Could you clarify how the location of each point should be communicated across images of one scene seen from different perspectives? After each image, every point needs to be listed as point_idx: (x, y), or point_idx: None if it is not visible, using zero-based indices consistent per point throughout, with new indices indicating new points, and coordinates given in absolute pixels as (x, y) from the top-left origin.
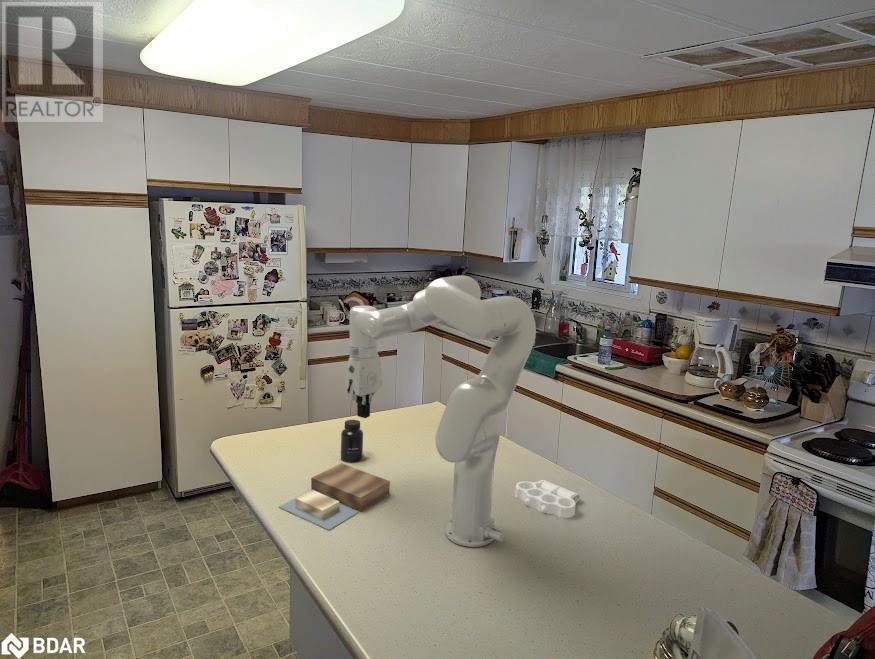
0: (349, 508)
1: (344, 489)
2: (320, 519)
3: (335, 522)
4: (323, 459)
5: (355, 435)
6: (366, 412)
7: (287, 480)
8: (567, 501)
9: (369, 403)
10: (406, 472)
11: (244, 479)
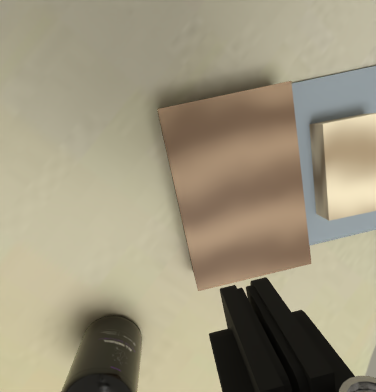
0: None
1: (292, 152)
2: None
3: (351, 81)
4: (175, 366)
5: (105, 380)
6: (281, 304)
7: None
8: None
9: (267, 387)
10: (33, 186)
11: (358, 368)
